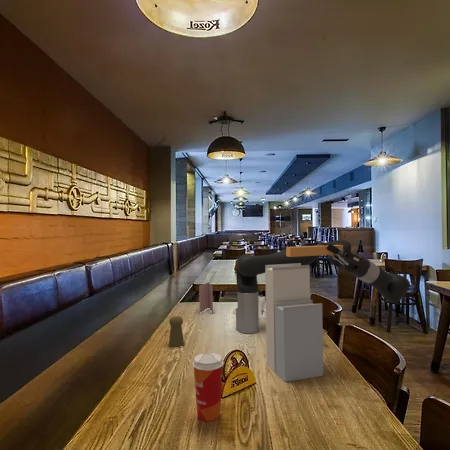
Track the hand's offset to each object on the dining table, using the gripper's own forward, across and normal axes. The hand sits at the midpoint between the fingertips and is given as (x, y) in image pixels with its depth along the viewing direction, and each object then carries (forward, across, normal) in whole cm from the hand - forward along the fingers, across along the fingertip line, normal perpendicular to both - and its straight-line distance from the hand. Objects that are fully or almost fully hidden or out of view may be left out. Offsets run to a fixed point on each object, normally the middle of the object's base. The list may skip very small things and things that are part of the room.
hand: (325, 245), depth 115 cm
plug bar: (+2, 0, +5) cm, 5 cm away
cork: (+21, -31, +57) cm, 68 cm away
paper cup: (+21, +20, +57) cm, 64 cm away
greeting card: (0, -74, +45) cm, 87 cm away
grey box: (-7, +7, +41) cm, 42 cm away
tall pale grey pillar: (-7, 0, +41) cm, 41 cm away
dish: (-20, -64, +34) cm, 75 cm away
